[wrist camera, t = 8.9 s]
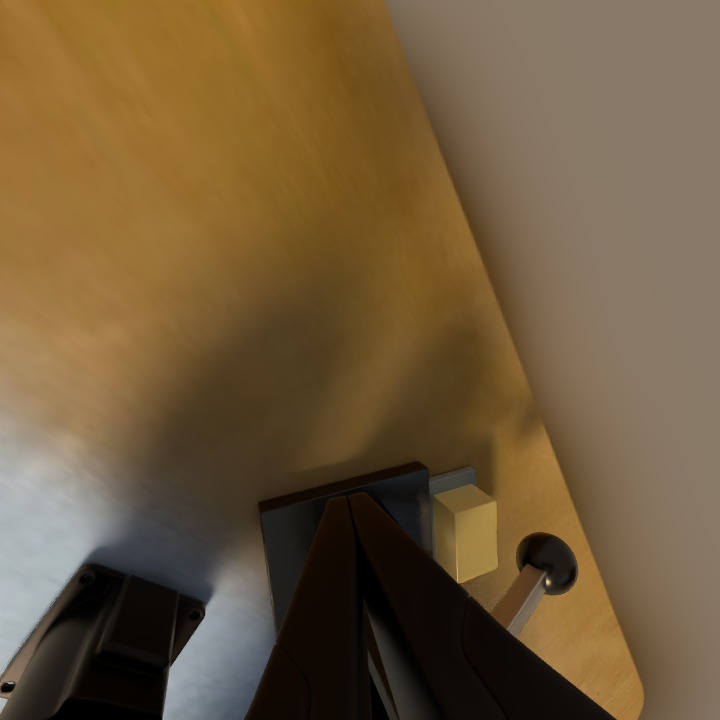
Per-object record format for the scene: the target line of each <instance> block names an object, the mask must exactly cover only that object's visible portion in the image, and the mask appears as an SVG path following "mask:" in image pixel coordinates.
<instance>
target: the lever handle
mask: <svg viewBox="0 0 720 720" xmlns="http://www.w3.org/2000/svg"><path fill="white" fill-rule="evenodd" d="M516 563H517V567H518V570H519V572H520V574H519V575H518V576H517V578H516V579H515V581H514V582H513V583H512V585H511V586H510V587H509V589H508V590H507V591H506V593H505V594H504V596H503V597H502V598H501V600H500V601H499V602H498V604H497V605H496V606H495V608H494V609H493V610H492V612H491V613H490V615H491V616H493V617H494V618H495V619H496V620H497V621H498V622H499V623H500V624H501V625H502V626H503V627H504V628H506V629H507V630H508V631H509V632H510V633H511V634H512V635H513V636H514V637H516V638H517V637H518V635H519V633H520V632H521V630H522V629H523V627H524V625H525V624H526V622H527V620H528V619H529V617H530V616H531V614H532V612H533V611H534V609H535V607H536V606H537V604H538V603H539V601H540V599H541V598H542V596H543V594H547V595H561V594H564V593H566V592H567V591H569V590H570V589H571V588H572V587H573V586H574V584H575V582H576V580H577V576H578V565H577V561H576V558H575V556H574V554H573V552H572V550H571V549H570V548H569V546H568V545H567V544H566V543H565V542H564V541H562V540H561V539H560V538H558V537H556V536H554V535H552V534H549V533H544V532H537V533H532V534H529V535H527V536H526V537H525V538H523V539H522V541H521V542H520V543H519V545H518V548H517V552H516Z"/></svg>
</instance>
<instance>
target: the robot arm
mask: <svg viewBox="0 0 720 720" xmlns="http://www.w3.org/2000/svg"><path fill="white" fill-rule="evenodd" d="M84 574H91V575H93V577H92V578H85V577H84ZM363 596H364V599H363ZM364 601H365V605H366V609H367V612H368V616H369V619H370V623H371V626H372V629H373V633H374V636H375V639H376V642H377V646H378V649H379V652H380V656H381V659H382V662H383V666H384V669H385V672H386V675H387V679H388V682H389V685H390V689H391V692H392V695H393V699H394V702H395V705H396V709H397V712H398V715H399V718H400V720H617V719H615V718H614V717H613V716H612V715H610V714H609V713H608V712H607V711H605V710H604V709H603V708H602V707H600V706H599V705H598V704H597V703H595V702H594V701H593V700H592V699H590V698H589V697H588V696H587V695H585V694H584V693H583V692H582V691H580V690H579V689H578V688H577V687H575V686H574V685H573V684H572V683H570V682H569V681H568V680H567V679H566V678H564V677H563V676H562V675H561V674H559V673H558V672H557V671H556V670H554V669H553V668H552V667H551V666H549V665H548V664H547V663H546V662H544V661H543V660H542V659H541V658H539V657H538V656H537V655H536V654H535V653H534V652H532V651H531V650H530V649H529V648H528V647H526V646H525V645H524V644H523V643H522V642H520V641H519V640H518V639H517V638H516V637H514V636H513V635H512V634H511V633H510V632H509V631H508V630H507V629H506V628H504V627H503V626H502V625H501V624H500V623H499V622H498V621H497V620H496V619H495V618H494V617H493V616H491V615H490V614H489V613H488V612H487V611H486V610H485V609H484V608H483V607H482V606H481V605H480V604H479V603H478V602H477V601H476V600H475V599H474V598H473V597H472V596H469V594H468V592H467V591H466V590H465V589H464V588H463V587H462V586H460V585H459V584H458V583H457V582H456V581H455V580H454V579H453V578H452V577H451V576H450V575H449V574H448V573H447V572H446V571H445V570H444V569H443V568H442V567H441V566H440V565H439V564H438V563H437V562H436V561H435V560H434V559H433V558H432V557H431V556H430V555H429V554H428V553H427V552H426V551H425V550H424V549H423V548H422V547H421V546H420V545H419V544H418V543H416V542H415V541H414V540H413V539H412V538H411V537H410V536H409V535H408V534H407V533H406V532H405V531H404V530H403V529H402V528H401V527H400V526H399V525H398V524H397V523H396V522H395V521H394V520H393V519H392V518H391V517H390V516H389V515H388V514H387V513H386V512H385V511H384V510H383V509H382V508H381V507H380V506H379V505H378V504H377V503H376V502H375V501H374V500H373V499H371V498H370V497H369V496H368V495H367V494H366V493H364V492H362V493H357V494H352V495H349V496H348V499H347V497H345V496H342V497H336V498H331V499H329V500H328V502H327V505H326V507H325V510H324V513H323V516H322V518H321V521H320V524H319V526H318V529H317V532H316V534H315V537H314V540H313V542H312V545H311V548H310V550H309V553H308V556H307V558H306V561H305V564H304V567H303V569H302V572H301V575H300V577H299V580H298V583H297V585H296V588H295V591H294V593H293V596H292V599H291V601H290V604H289V607H288V610H287V612H286V615H285V618H284V620H283V623H282V626H281V628H280V631H279V634H278V636H277V639H276V643H277V644H275V645H274V647H273V649H272V652H271V655H270V657H269V660H268V663H267V665H266V668H265V671H264V673H263V675H262V678H261V680H260V683H259V685H258V688H257V690H256V693H255V695H254V698H253V700H252V703H251V705H250V707H249V709H248V712H247V714H246V716H245V718H244V720H372V708H371V693H370V678H369V664H368V649H367V634H366V620H365V608H364ZM194 611H199V612H198V613H197V614H191V613H192V612H194ZM204 616H205V604H204V603H203V602H201V601H199V600H196V599H193V598H191V597H188V596H185V595H182V594H179V593H178V592H177V591H175V590H172V589H170V588H167V587H164V586H161V585H158V584H156V583H153V582H150V581H147V580H144V579H142V578H139V577H136V576H133V575H132V576H129V575H126V574H123V573H121V572H118V571H115V570H112V569H109V568H107V567H104V566H101V565H98V564H94V563H89V564H86V565H83V566H82V567H81V568H80V569H79V570H78V571H77V573H76V574H75V575H74V577H73V578H72V579H71V581H70V582H69V584H68V585H67V586H66V588H65V589H64V590H63V592H62V593H61V594H60V596H59V597H58V599H57V600H56V601H55V603H54V604H53V605H52V607H51V608H50V610H49V611H48V612H47V614H46V615H45V616H44V618H43V619H42V620H41V622H40V623H39V625H38V626H37V627H36V629H35V630H34V631H33V633H32V634H31V636H30V637H29V638H28V640H27V641H26V642H25V644H24V645H23V647H22V648H21V649H20V651H19V652H18V653H17V655H16V656H15V657H14V659H13V660H12V662H11V663H10V664H9V666H8V667H7V668H6V670H5V671H4V673H3V674H2V675H1V677H0V697H1V698H5V699H8V701H7V703H6V705H5V706H4V708H3V710H2V712H1V714H0V720H162V719H163V712H164V705H165V698H166V691H167V683H168V676H169V669H170V667H171V666H172V664H173V663H174V661H175V660H176V658H177V657H178V655H179V654H180V652H181V651H182V649H183V648H184V647H185V645H186V644H187V642H188V641H189V639H190V638H191V636H192V635H193V633H194V632H195V630H196V629H197V627H198V626H199V624H200V623H201V622H202V620H203V619H204ZM7 682H13V683H14V684H8V683H7Z"/></svg>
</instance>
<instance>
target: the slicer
mask: <svg viewBox="0 0 720 720" xmlns="http://www.w3.org/2000/svg"><path fill="white" fill-rule="evenodd" d="M362 492H364V493H366V494H367V495H368V496H369V497H370V498H371V499H373V500H374V501H375V502H376V503H377V504H378V505H379V506H380V507H381V508H382V509H383V510H384V511H385V512H386V513H387V514H388V515H389V516H390V517H391V518H392V519H393V520H394V521H395V522H396V523H397V524H398V525H399V526H400V527H401V528H402V529H403V530H404V531H405V532H406V533H407V534H408V535H409V536H410V537H411V538H412V539H413V540H414V541H415V542H416V543H418V544H419V545H420V546H421V547H422V548H423V549H424V550H425V551H426V552H427V553H428V554H429V555H430V556H431V557H432V558H433V547H432V528H431V510H430V492H429V474H428V468H427V467H426V466H424V465H423V464H422V463H421V462H419V461H417V462H413V463H409V464H405V465H401V466H398V467H394V468H390V469H386V470H382V471H378V472H374V473H370V474H367V475H363V476H359V477H355V478H351V479H347V480H343V481H339V482H335V483H332V484H328V485H324V486H320V487H316V488H312V489H308V490H304V491H301V492H297V493H293V494H289V495H285V496H281V497H277V498H273V499H269V500H266V501H262V502H259V503H258V509H259V516H260V523H261V530H262V538H263V545H264V552H265V559H266V567H267V574H268V581H269V588H270V596H271V603H272V610H273V617H274V625H275V632H276V639H277V636H278V634H279V631H280V628H281V626H282V623H283V620H284V618H285V615H286V612H287V610H288V607H289V604H290V601H291V599H292V596H293V593H294V591H295V588H296V585H297V583H298V580H299V577H300V575H301V572H302V569H303V567H304V564H305V561H306V558H307V556H308V553H309V550H310V548H311V545H312V542H313V540H314V537H315V534H316V532H317V529H318V526H319V524H320V521H321V518H322V516H323V513H324V510H325V507H326V505H327V502H328V500H329V499H331V498H336V497H342V496H345V497H347V499H348V496H349V495H352V494H357V493H362ZM363 599H364V596H363ZM364 608H365V620H366V634H367V649H368V664H369V678H370V693H371V708H372V720H400V718H399V715H398V712H397V709H396V705H395V702H394V699H393V695H392V692H391V689H390V685H389V682H388V679H387V675H386V672H385V669H384V666H383V662H382V659H381V656H380V652H379V649H378V646H377V642H376V639H375V636H374V633H373V629H372V626H371V623H370V619H369V616H368V612H367V609H366V605H365V601H364Z"/></svg>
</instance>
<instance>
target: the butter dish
mask: <svg viewBox="0 0 720 720" xmlns="http://www.w3.org/2000/svg"><path fill="white" fill-rule="evenodd" d="M429 492H430V510H431V528H432V547H433V559H434V560H435V561H436V562H437V563H438V564H439V565H440V566H441V567H442V568H443V569H445V570H446V571H447V573H448V574H449V575H450V576H451V577H452V578H453V579H454V580H455V581H456V582H457V583H458V584H460V583H462V582H465V581H467V580H470V579H472V578H475V577H477V576H480V575H482V574H485V573H487V572H490V571H492V570H495V569H497V568H498V552H497V509H496V500H495V499H493V498H492V497H490V496H489V495H487V494H486V493H484V492H483V491H481V490H480V489H479V488H477V487H476V470H475V469H474V468H473V467H471V466H469V467H465V468H462V469H458V470H454V471H451V472H447V473H444V474H440V475H436V476H433V477H429Z"/></svg>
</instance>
